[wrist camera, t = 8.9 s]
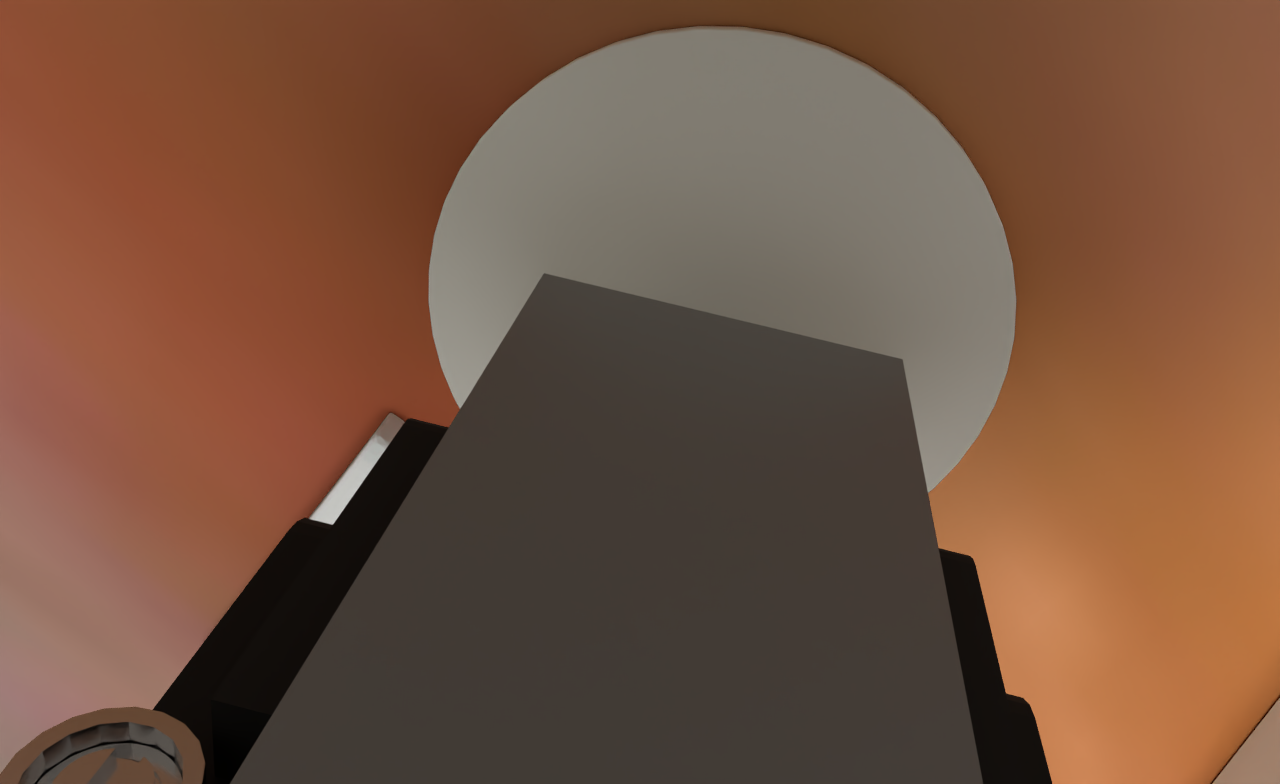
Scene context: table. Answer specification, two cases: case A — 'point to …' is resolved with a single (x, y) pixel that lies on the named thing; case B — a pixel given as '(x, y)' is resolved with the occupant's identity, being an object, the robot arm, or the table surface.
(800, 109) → the coaster
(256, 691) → the robot arm
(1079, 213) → the table surface
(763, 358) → the charger
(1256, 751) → the power strip
